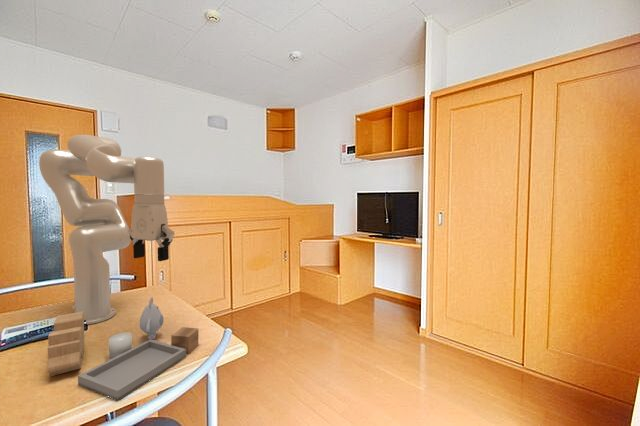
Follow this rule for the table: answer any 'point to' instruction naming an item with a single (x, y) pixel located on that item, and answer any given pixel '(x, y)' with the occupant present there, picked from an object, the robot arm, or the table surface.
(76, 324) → the stepped wooden block
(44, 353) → the table surface
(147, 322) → the toy figure
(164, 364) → the tray
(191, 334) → the walnut cube
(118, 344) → the pale grey egg shape
